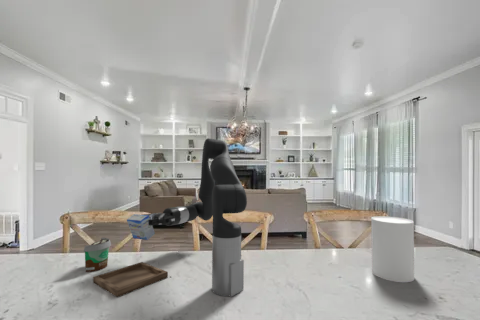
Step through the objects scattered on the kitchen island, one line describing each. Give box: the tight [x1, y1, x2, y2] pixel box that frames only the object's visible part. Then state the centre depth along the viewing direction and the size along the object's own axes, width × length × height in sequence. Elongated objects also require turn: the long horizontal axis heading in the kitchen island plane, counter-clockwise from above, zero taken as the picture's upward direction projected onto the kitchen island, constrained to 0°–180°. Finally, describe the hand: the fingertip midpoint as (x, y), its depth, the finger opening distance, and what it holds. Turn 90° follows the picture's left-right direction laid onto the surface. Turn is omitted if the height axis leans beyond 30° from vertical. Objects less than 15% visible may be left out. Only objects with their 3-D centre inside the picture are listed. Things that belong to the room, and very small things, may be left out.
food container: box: [83, 237, 112, 273], centre depth 102 cm, size 12×6×10 cm, turn 179°
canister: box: [370, 215, 415, 283], centre depth 97 cm, size 14×14×20 cm
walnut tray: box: [92, 261, 169, 298], centre depth 90 cm, size 16×18×2 cm
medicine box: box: [126, 213, 156, 241], centre depth 102 cm, size 8×4×9 cm, turn 63°
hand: (142, 221), depth 103 cm, fingers closed on medicine box, 8 cm apart
